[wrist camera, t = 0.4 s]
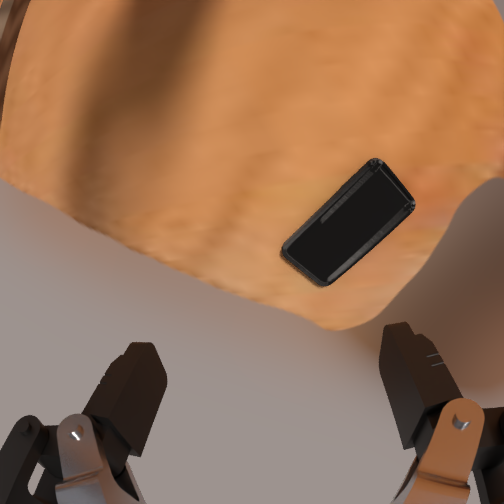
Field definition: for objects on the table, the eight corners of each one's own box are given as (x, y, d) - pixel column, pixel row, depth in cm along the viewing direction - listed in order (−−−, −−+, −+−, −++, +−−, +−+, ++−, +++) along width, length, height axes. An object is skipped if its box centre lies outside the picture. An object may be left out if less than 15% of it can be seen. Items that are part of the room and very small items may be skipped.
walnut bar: (25, -12, 15) (9, -15, 12) (38, -15, 15) (22, -19, 12) (-8, 117, 25) (-24, 122, 22) (3, 119, 25) (-15, 124, 22)
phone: (418, 205, 28) (324, 289, 34) (414, 202, 29) (323, 284, 35) (377, 154, 26) (277, 251, 32) (373, 151, 27) (276, 246, 33)
